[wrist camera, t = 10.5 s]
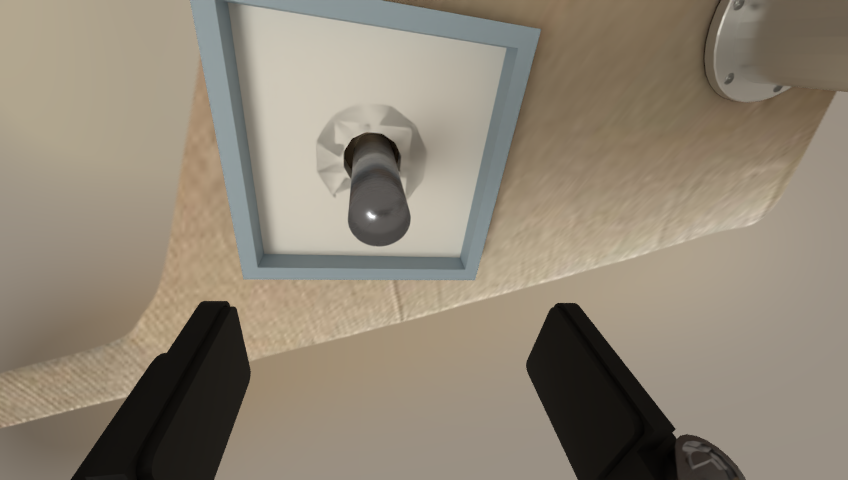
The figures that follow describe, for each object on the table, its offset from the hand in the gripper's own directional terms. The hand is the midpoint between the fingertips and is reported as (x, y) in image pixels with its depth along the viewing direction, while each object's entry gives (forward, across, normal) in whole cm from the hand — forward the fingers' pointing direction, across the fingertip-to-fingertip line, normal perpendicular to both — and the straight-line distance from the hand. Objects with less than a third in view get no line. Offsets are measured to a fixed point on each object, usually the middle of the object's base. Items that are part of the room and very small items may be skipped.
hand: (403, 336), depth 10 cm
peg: (+20, +1, 0) cm, 20 cm away
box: (+20, +1, 0) cm, 20 cm away
